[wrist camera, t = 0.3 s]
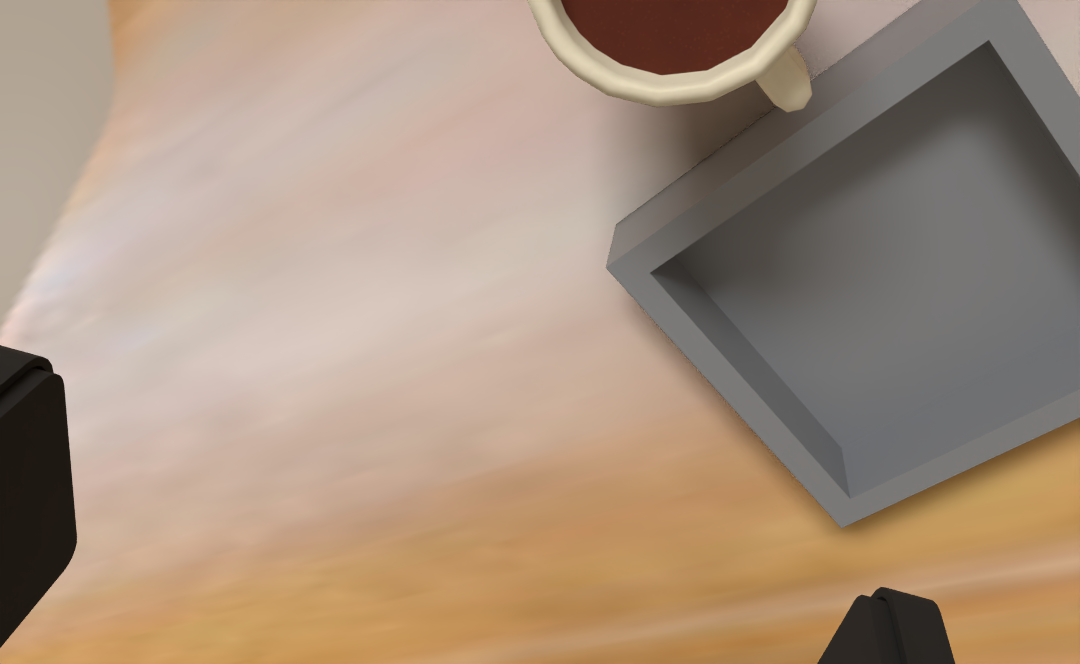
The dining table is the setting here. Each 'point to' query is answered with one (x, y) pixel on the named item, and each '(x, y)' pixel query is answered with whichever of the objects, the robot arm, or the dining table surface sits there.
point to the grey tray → (885, 259)
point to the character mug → (681, 47)
